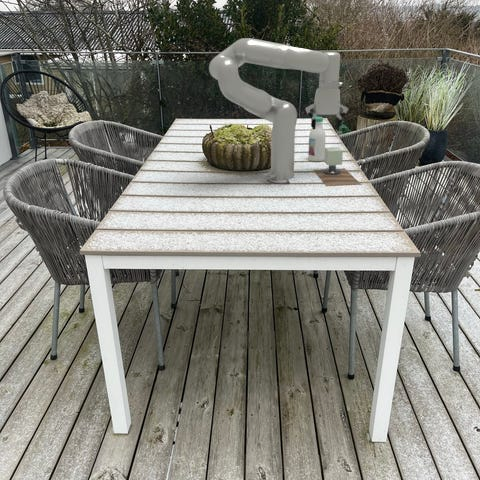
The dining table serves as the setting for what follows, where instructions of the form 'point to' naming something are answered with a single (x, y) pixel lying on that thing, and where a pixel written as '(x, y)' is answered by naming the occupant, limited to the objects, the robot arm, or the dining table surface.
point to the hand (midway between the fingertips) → (325, 128)
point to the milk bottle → (317, 141)
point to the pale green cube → (333, 156)
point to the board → (336, 176)
